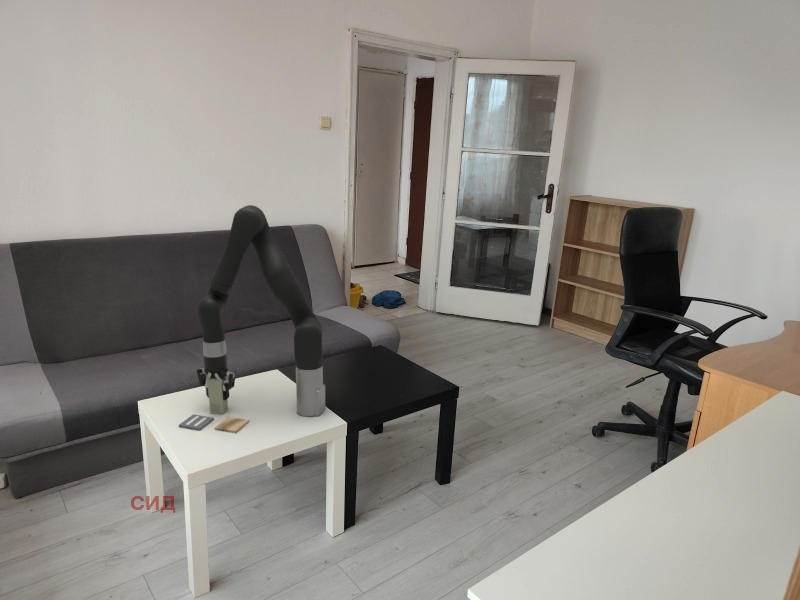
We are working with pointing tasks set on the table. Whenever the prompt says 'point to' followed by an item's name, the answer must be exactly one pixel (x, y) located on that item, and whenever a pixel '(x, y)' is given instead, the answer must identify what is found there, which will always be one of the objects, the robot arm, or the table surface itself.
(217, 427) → the pad oak
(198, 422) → the pad slate
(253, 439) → the table surface
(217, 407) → the box
